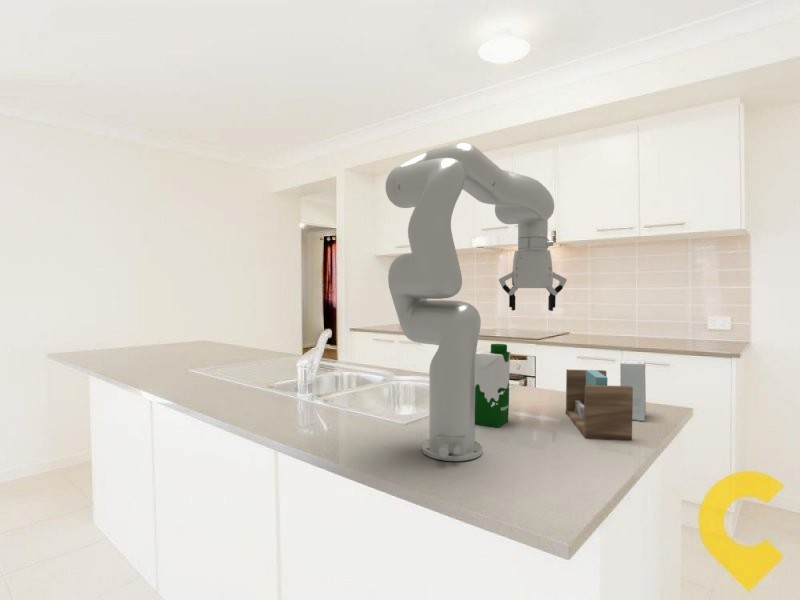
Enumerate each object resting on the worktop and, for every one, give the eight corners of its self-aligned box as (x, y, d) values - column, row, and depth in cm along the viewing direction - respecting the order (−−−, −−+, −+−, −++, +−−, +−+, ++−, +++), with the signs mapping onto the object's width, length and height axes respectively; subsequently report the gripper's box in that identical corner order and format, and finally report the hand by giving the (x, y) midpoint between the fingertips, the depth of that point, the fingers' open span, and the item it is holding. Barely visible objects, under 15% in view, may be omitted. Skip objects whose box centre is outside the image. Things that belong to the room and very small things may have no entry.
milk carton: (501, 429, 116) (502, 347, 115) (466, 423, 121) (467, 344, 120) (512, 420, 124) (513, 343, 123) (479, 415, 128) (480, 341, 128)
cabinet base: (631, 440, 108) (632, 387, 108) (585, 438, 109) (586, 386, 109) (604, 414, 130) (604, 370, 129) (565, 413, 131) (566, 369, 131)
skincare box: (644, 422, 123) (645, 364, 122) (619, 418, 126) (620, 362, 125) (645, 414, 130) (646, 359, 130) (621, 411, 133) (622, 358, 132)
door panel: (606, 427, 114) (607, 377, 114) (595, 427, 115) (596, 377, 114) (595, 416, 124) (596, 370, 124) (585, 415, 125) (585, 369, 124)
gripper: (563, 246, 129) (563, 310, 129) (498, 246, 131) (497, 309, 132) (569, 244, 121) (568, 311, 122) (500, 244, 124) (499, 310, 124)
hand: (531, 310), depth 127 cm, fingers open, 9 cm apart
